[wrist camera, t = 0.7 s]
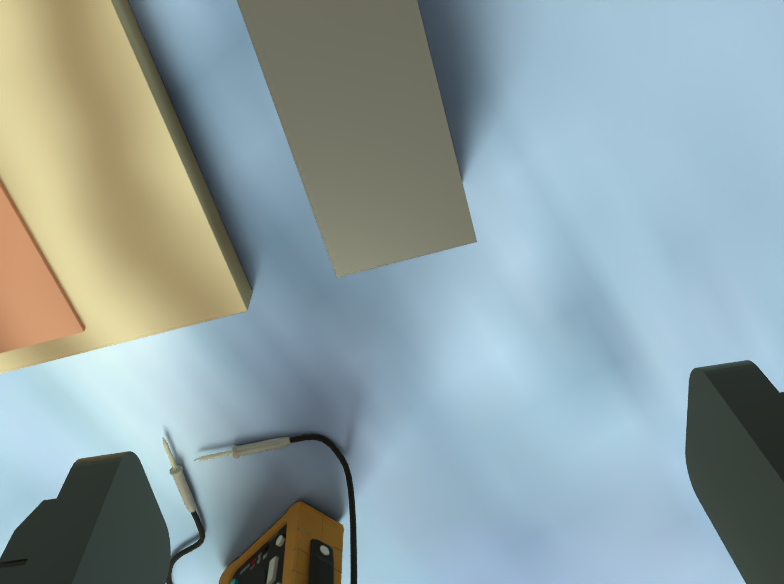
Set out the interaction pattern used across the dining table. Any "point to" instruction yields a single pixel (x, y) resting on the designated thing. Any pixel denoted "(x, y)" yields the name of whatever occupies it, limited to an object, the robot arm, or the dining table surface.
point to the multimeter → (283, 533)
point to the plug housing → (363, 126)
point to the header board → (98, 191)
